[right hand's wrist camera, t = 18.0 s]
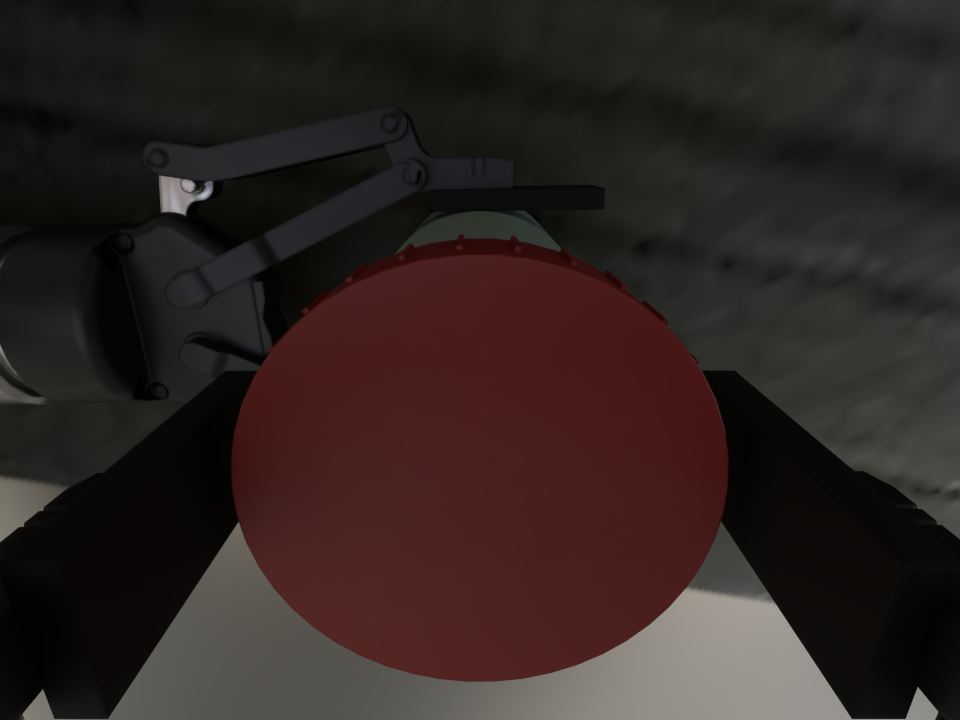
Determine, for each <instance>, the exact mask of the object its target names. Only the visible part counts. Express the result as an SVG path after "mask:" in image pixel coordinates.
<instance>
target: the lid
mask: <svg viewBox="0 0 960 720" xmlns="http://www.w3.org/2000/svg"><path fill="white" fill-rule="evenodd" d="M627 289H628V287H627V286H625V285H624V284H623V283H622V282H621V281H620V280H619V279H618V278H616V277H615V276H614V275H613V274H612V273H611V272H609V271H608V270H606V272H605V273H602V272H600V271H599V270H597V269H595V268H594V267H592V266H590V265H588V264H587V263H585V262H583V261H580V260H578V259H576V258H573V256H572V255H571V254H570V253H569V252H568V251H567V250H566V249H563V248H561V250H560V252H559V251H556V250H553V249H549V248H545V247H541V246H538V245H534V244H530V243H526V242H519V241H518V239H517V237H515V236H511V239H510V240H503V239H495V238H477V239H465V238H464V234H463V235H458V239H456V240H449V241H442V242H434V243H429V244H425V245H422V246H418V247H415V248H414V245H413V243H412V244H409V245H407V246H406V248H405V249H404V250H403V251H400V252H398V253H396V254H393V255H391V256H389V257H386V258H384V259H382V260H380V261H377V262H375V263H373V264H371V265H369V266H367V264H366V263H364V264H362V265H361V266H359V267H358V268H357V269H356V270H355V271H354V272H353V273H352V274H351V275H350V276H348V277H347V278H346V280H345V281H344V282H342V283H341V284H340V285H339V286H337V287H336V288H335V289H334V290H333V291H331V292H330V293H329V294H328V293H327V292H326V291H324V292H323V293H322V294H321V295H320V296H318V297H317V298H316V299H315V300H314V301H313V302H311V303H310V304H309V305H308V306H307V307H306V308H304V309H303V310H302V312H303V313H304V314H305V315H304V316H303V317H302V318H301V319H300V320H298V321H297V322H296V323H295V324H294V325H293V326H292V327H291V328H290V330H288V331H287V332H286V333H285V334H284V335H283V336H282V337H281V338H280V339H279V340H277V341H276V342H275V343H274V344H273V345H272V346H271V347H270V348H269V350H268V351H270V353H269V354H268V356H267V357H266V359H265V360H264V362H263V363H262V365H261V367H260V368H259V370H258V371H257V373H256V374H255V376H254V378H253V380H252V382H251V385H250V387H249V389H248V391H247V393H246V395H245V398H244V400H243V402H242V405H241V409H240V412H239V416H238V419H237V423H236V427H235V430H234V437H233V445H232V454H231V480H232V493H233V498H234V503H235V508H236V513H237V518H238V520H239V523H240V526H241V529H242V532H243V534H244V537H245V540H246V543H247V545H248V547H249V549H250V551H251V553H252V555H253V556H254V558H255V560H256V562H257V564H258V566H259V568H260V569H261V571H262V572H263V573H264V575H265V576H266V578H267V579H268V581H269V582H270V583H271V585H272V586H273V588H274V589H275V590H276V591H277V592H278V594H279V595H280V596H281V597H282V598H283V599H284V600H285V601H286V602H287V603H288V605H289V606H290V607H291V608H292V609H293V610H294V611H295V612H297V613H298V614H299V615H300V616H301V617H302V618H303V619H305V620H306V621H307V622H308V623H309V624H310V625H312V626H313V627H314V628H315V629H317V630H318V631H320V632H321V633H323V634H324V635H326V636H327V637H329V638H330V639H331V640H333V641H334V642H336V643H338V644H340V645H341V646H343V647H345V648H347V649H349V650H351V651H353V652H354V653H356V654H358V655H360V656H363V657H365V658H367V659H370V660H372V661H375V662H377V663H380V664H382V665H385V666H388V667H391V668H394V669H398V670H401V671H404V672H408V673H411V674H416V675H422V676H427V677H432V678H437V679H445V680H456V681H467V682H477V681H504V680H514V679H523V678H528V677H533V676H538V675H543V674H548V673H552V672H555V671H559V670H562V669H565V668H569V667H572V666H575V665H578V664H580V663H583V662H585V661H587V660H590V659H592V658H595V657H597V656H599V655H602V654H604V653H605V652H607V651H609V650H611V649H613V648H614V647H616V646H618V645H620V644H622V643H624V642H625V641H627V640H628V639H630V638H631V637H633V636H634V635H636V634H637V633H638V632H640V631H641V630H643V629H644V628H645V627H647V626H648V625H650V624H651V623H652V622H653V621H654V620H655V619H656V618H657V617H658V616H660V615H661V614H662V613H663V612H664V611H665V610H666V609H667V608H669V607H670V605H671V604H672V603H673V602H674V601H675V600H676V599H677V597H678V596H679V595H680V594H681V593H682V592H683V591H684V590H685V588H686V587H687V586H688V585H689V583H690V582H691V580H692V579H693V577H694V576H695V574H696V573H697V571H698V570H699V568H700V567H701V565H702V564H703V562H704V560H705V558H706V556H707V554H708V552H709V550H710V548H711V546H712V544H713V542H714V540H715V537H716V534H717V531H718V528H719V525H720V522H721V519H722V516H723V512H724V506H725V501H726V495H727V489H728V463H729V456H728V449H727V441H726V434H725V427H724V424H723V421H722V417H721V414H720V411H719V407H718V404H717V401H716V398H715V396H714V394H713V392H712V390H711V388H710V386H709V384H708V382H707V380H706V377H705V375H704V373H703V371H702V370H701V369H700V367H699V366H698V363H699V362H698V360H697V359H696V358H695V357H694V356H693V355H692V354H691V353H690V352H689V351H688V350H687V348H686V347H685V345H684V344H683V343H682V342H681V341H680V340H679V339H678V338H677V337H676V336H675V335H674V334H673V332H672V331H671V330H670V329H669V328H668V327H667V326H666V325H667V324H668V323H669V322H668V321H667V320H666V319H665V318H664V317H663V316H662V315H661V314H660V313H659V312H657V311H656V310H655V309H654V308H653V307H652V306H651V305H649V304H648V303H647V302H646V301H645V300H644V301H643V302H642V303H641V302H640V301H639V300H638V299H637V298H636V297H635V296H633V295H632V294H631V293H630V292H628V291H627Z"/></svg>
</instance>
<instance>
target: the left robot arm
mask: <svg viewBox="0 0 960 720" xmlns="http://www.w3.org/2000/svg"><path fill="white" fill-rule="evenodd" d="M382 147H385V150H386V152H387V155H388V157H389V160H390V162H391V164H392V166H391V167H389V168H388V169H386V170H384V171H382V172H380V173H378V174H376V175H374V176H372V177H370V178H368V179H367V180H365V181H363V182H361V183H359V184H357V185H355V186H353V187H351V188H349V189H347V190H346V191H344V192H342V193H340V194H338V195H336V196H334V197H332V198H330V199H328V200H326V201H325V202H323V203H321V204H319V205H317V206H315V207H313V208H311V209H309V210H307V211H305V212H304V213H302V214H300V215H298V216H296V217H294V218H292V219H290V220H288V221H286V222H284V223H283V224H281V225H279V226H277V227H275V228H273V229H271V230H269V231H267V232H265V233H263V234H261V235H259V236H257V237H255V238H253V239H251V240H249V241H247V242H245V243H243V242H241V241H240V240H238V239H236V238H235V237H233V236H232V235H230V234H229V233H227V232H225V231H224V230H222V229H221V228H219V227H218V226H216V225H215V224H213V223H211V222H210V221H208V220H207V219H205V218H204V217H202V216H201V215H199V214H197V210H198V207H199V204H200V203H201V202H202V201H204V200H206V199H213V198H216V197H218V196H219V195H220V194H221V192H222V190H223V180H234V179H244V178H250V177H256V176H260V175H264V174H269V173H273V172H278V171H282V170H286V169H291V168H295V167H299V166H304V165H308V164H312V163H317V162H321V161H326V160H330V159H334V158H339V157H343V156H347V155H352V154H356V153H360V152H365V151H369V150H374V149H378V148H382ZM142 157H143V161H144V164H145V165H146V167H147V168H148V170H150V171H151V172H152V173H154V174H156V175H159V188H160V205H161V213H159V214H156V215H154V216H153V217H151V218H150V219H148V220H147V221H145V222H143V223H139V224H79V225H48V226H44V227H40V228H39V227H34V226H30V225H16V226H0V404H46V403H53V402H62V403H113V402H147V401H156V400H175V401H179V402H182V403H185V404H186V403H188V402H189V401H190V400H191V399H192V398H193V397H195V396H196V395H197V394H198V393H199V392H201V391H202V390H203V389H204V388H205V387H207V386H208V385H209V384H210V383H211V382H213V381H214V380H215V379H216V378H217V377H219V376H220V375H221V374H222V373H223V372H225V371H258V370H259V368H260V367H261V365H262V363H263V362H264V360H265V359H266V357H267V356H268V354H269V353H270V351H268V350H269V348H270V347H271V346H272V345H273V344H274V343H275V342H276V341H277V340H279V339H280V338H281V337H282V336H283V335H284V334H285V333H286V332H287V331H288V328H287V322H286V320H285V318H284V315H283V313H282V311H281V308H280V299H281V291H282V286H281V280H280V273H279V272H274V269H273V267H272V266H273V265H275V264H277V263H279V262H281V261H283V260H285V259H287V258H289V257H291V256H293V255H295V254H296V253H298V252H300V251H302V250H304V249H306V248H308V247H310V246H312V245H314V244H316V243H318V242H320V241H322V240H324V239H326V238H328V237H330V236H332V235H334V234H336V233H338V232H339V231H341V230H343V229H345V228H347V227H349V226H351V225H353V224H355V223H357V222H359V221H361V220H363V219H365V218H367V217H369V216H371V215H373V214H375V213H377V212H379V211H381V210H382V209H384V208H386V207H388V206H390V205H392V204H394V203H396V202H398V201H400V200H402V199H404V198H406V197H408V196H410V195H412V194H414V193H416V192H428V191H430V206H431V212H467V211H528V210H588V209H604V196H605V188H602V187H598V186H594V185H555V186H513V162H511V161H509V160H506V159H504V158H501V157H463V158H437V157H434V156H431V155H430V154H428V153H427V152H426V151H425V150H424V149H423V147H422V145H421V143H420V140H419V137H418V135H417V132H416V130H415V127H414V122H413V120H412V118H411V117H410V116H409V115H408V114H407V113H406V112H404V111H403V110H401V109H399V108H397V107H395V106H393V105H386V106H382V107H377V108H373V109H369V110H365V111H360V112H356V113H352V114H347V115H343V116H339V117H335V118H330V119H326V120H322V121H318V122H313V123H309V124H305V125H301V126H296V127H292V128H288V129H284V130H279V131H275V132H271V133H267V134H262V135H258V136H254V137H250V138H245V139H241V140H237V141H233V142H228V143H224V144H220V145H215V146H209V145H202V144H195V143H184V142H164V141H152V142H150V143H148V144H146V146H145V147H144V149H143V154H142Z"/></svg>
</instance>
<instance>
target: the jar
mask: <svg viewBox="0 0 960 720" xmlns="http://www.w3.org/2000/svg"><path fill="white" fill-rule="evenodd" d="M463 234H464V238H465V239H477V238H495V239H503V240H510V239H511V236H515V237H517V239H518V241H519V242H526V243H530V244H534V245H538V246H541V247H545V248H549V249H553V250H556V251H559V252H560V250H561V248H560V247H559V246H558V245H557V244H556V243H555V241H554V240H553V239H552V238H551V237H550V236H549V235H548V234H547V232H546V231H545V230H544V229H543V228H542V227H541V226H540V224H539V223H538V222H537V221H536V220H535V219H534V218H533V217H531V216H530V215H529V214H528V213H526V212H525V211H467V212H434V213H432V214H431V215H430V216H429V217H428V218H426V219H425V220H424V221H423V223H422V224H421V225H420V226H419V227H418V228H417V229H416V230H415V232H414V233H413V234H412V235H411V236H410V237H409V238H408V239H407V241H406V242H405V243H404V244H403V245H402V246H401V247H400V248H399V250H398V251H397V252H396V253H398V252H400V251H403V250H404V249H405V248H406V246H407V245H409V244H412V243H413V245H414V248H415V247H418V246H422V245H425V244H429V243H434V242H442V241H449V240H456V239H458V235H463ZM396 253H395V254H396Z"/></svg>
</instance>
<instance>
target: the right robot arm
mask: <svg viewBox="0 0 960 720" xmlns="http://www.w3.org/2000/svg"><path fill="white" fill-rule="evenodd" d="M256 373H257V371H225V372H223V373H222V374H221V375H220V376H219V377H217V378H216V379H215V380H214V381H213V382H211V383H210V384H209V385H208V386H207V387H205V388H204V389H203V390H202V391H201V392H199V393H198V394H197V395H196V396H195V397H193V398H192V399H191V400H190V401H189V402H188V403H186V404H185V405H184V406H183V407H182V408H180V409H179V410H178V411H177V412H176V413H174V414H173V415H172V416H171V417H170V418H168V419H167V420H166V421H165V422H164V423H162V424H161V425H160V426H159V427H158V428H157V429H155V430H154V431H153V432H152V433H151V434H149V435H148V436H147V437H146V438H145V439H143V440H142V441H141V442H140V443H139V444H137V445H136V446H135V447H134V448H133V449H131V450H130V451H129V452H128V453H127V454H125V455H124V456H123V457H122V458H121V459H120V460H118V461H117V462H116V463H115V464H114V465H112V466H111V467H110V468H109V469H108V470H106V471H105V472H104V473H97V474H95V475H93V476H91V477H89V478H87V479H85V480H83V481H81V482H79V483H77V484H75V485H73V486H72V487H70V488H68V489H66V490H65V491H64V492H62V493H61V494H60V495H59V496H57V497H56V498H55V499H54V500H52V501H51V502H50V503H49V504H47V505H46V506H45V507H44V510H43V511H39V512H37V513H36V514H35V515H34V516H32V517H31V518H30V519H29V520H27V521H26V522H25V523H24V527H19V528H17V529H16V530H15V531H14V532H13V533H11V534H10V535H9V536H8V537H6V538H5V539H4V540H3V541H1V542H0V720H24V717H23V715H22V714H23V712H24V711H25V710H26V709H27V708H28V706H29V705H30V704H31V703H32V702H33V700H34V699H35V698H36V697H37V695H38V694H39V693H40V692H41V691H42V689H43V690H44V692H45V695H46V698H47V700H48V703H49V705H50V708H51V711H52V713H53V716H54V718H55V719H108V718H109V716H110V715H111V713H112V712H113V710H114V709H115V707H116V706H117V704H118V703H119V701H120V700H121V698H122V697H123V695H124V694H125V692H126V691H127V689H128V688H129V686H130V685H131V683H132V682H133V680H134V679H135V677H136V676H137V674H138V673H139V671H140V669H141V668H142V667H143V665H144V664H145V662H146V660H147V659H148V657H149V656H150V655H151V653H152V651H153V650H154V648H155V647H156V645H157V644H158V642H159V641H160V639H161V638H162V636H163V635H164V633H165V632H166V630H167V629H168V627H169V626H170V624H171V623H172V621H173V620H174V618H175V617H176V615H177V614H178V612H179V611H180V609H181V608H182V606H183V605H184V603H185V602H186V600H187V599H188V597H189V596H190V594H191V593H192V591H193V590H194V588H195V587H196V585H197V584H198V582H199V581H200V579H201V578H202V576H203V574H204V573H205V572H206V570H207V568H208V567H209V566H210V564H211V562H212V561H213V559H214V558H215V556H216V555H217V553H218V552H219V550H220V549H221V547H222V546H223V544H224V543H225V541H226V540H227V538H228V537H229V535H230V534H231V532H232V531H233V529H234V528H235V526H236V525H237V523H238V522H239V520H238V518H237V513H236V508H235V503H234V498H233V493H232V480H231V454H232V445H233V437H234V430H235V427H236V423H237V419H238V416H239V412H240V409H241V405H242V402H243V400H244V398H245V395H246V393H247V391H248V389H249V387H250V385H251V382H252V380H253V378H254V376H255V374H256ZM703 373H704V375H705V377H706V380H707V382H708V384H709V386H710V388H711V390H712V392H713V394H714V396H715V398H716V401H717V404H718V407H719V411H720V414H721V417H722V421H723V424H724V427H725V434H726V441H727V449H728V456H729V463H728V489H727V495H726V501H725V506H724V512H723V516H722V519H721V522H722V523H723V525H724V526H725V528H726V529H727V531H728V532H729V534H730V535H731V537H732V538H733V540H734V541H735V543H736V544H737V546H738V547H739V549H740V550H741V552H742V553H743V555H744V556H745V558H746V559H747V561H748V562H749V564H750V566H751V567H752V569H753V570H754V572H755V573H756V575H757V576H758V578H759V579H760V581H761V582H762V584H763V585H764V587H765V588H766V590H767V591H768V593H769V594H770V596H771V597H772V599H773V600H774V602H775V603H776V605H777V606H778V608H779V609H780V611H781V612H782V614H783V615H784V617H785V618H786V620H787V621H788V623H789V624H790V626H791V627H792V629H793V630H794V632H795V633H796V635H797V636H798V638H799V639H800V641H801V642H802V644H803V645H804V647H805V648H806V650H807V651H808V653H809V655H810V656H811V658H812V659H813V661H814V662H815V664H816V665H817V667H818V668H819V670H820V671H821V673H822V674H823V676H824V677H825V679H826V680H827V682H828V683H829V685H830V686H831V688H832V689H833V691H834V692H835V694H836V695H837V697H838V698H839V700H840V701H841V703H842V704H843V706H844V707H845V709H846V710H847V712H848V713H849V715H850V716H851V718H852V719H905V718H906V716H907V713H908V711H909V708H910V706H911V703H912V700H913V698H914V695H915V692H916V690H917V687H919V689H920V690H921V691H922V692H923V693H924V695H925V696H926V697H927V698H928V700H929V701H930V702H931V703H932V704H933V706H934V707H935V708H936V709H937V710H938V715H937V717H936V719H935V720H960V539H959V538H957V537H956V536H955V535H954V534H952V533H951V532H950V531H949V530H947V529H946V528H945V527H943V526H942V525H937V523H936V520H935V519H933V518H932V517H931V516H930V515H928V514H927V513H926V512H925V511H923V510H922V509H917V505H916V504H915V503H913V502H912V501H911V500H910V499H908V498H907V497H906V496H905V495H903V494H902V493H901V492H900V491H898V490H897V489H896V488H895V487H893V486H891V485H889V484H887V483H885V482H883V481H881V480H879V479H877V478H875V477H873V476H871V475H869V474H867V473H865V472H863V471H854V470H852V469H851V468H850V467H849V466H848V465H846V464H845V463H844V462H843V461H842V460H840V459H839V458H838V457H837V456H836V455H835V454H833V453H832V452H831V451H830V450H829V449H827V448H826V447H825V446H824V445H823V444H821V443H820V442H819V441H818V440H817V439H815V438H814V437H813V436H812V435H811V434H809V433H808V432H807V431H806V430H805V429H803V428H802V427H801V426H800V425H799V424H798V423H796V422H795V421H794V420H793V419H792V418H790V417H789V416H788V415H787V414H786V413H784V412H783V411H782V410H781V409H780V408H778V407H777V406H776V405H775V404H774V403H772V402H771V401H770V400H769V399H768V398H767V397H765V396H764V395H763V394H762V393H761V392H759V391H758V390H757V389H756V388H755V387H753V386H752V385H751V384H750V383H749V382H747V381H746V380H745V379H744V378H743V377H741V376H740V375H739V374H738V373H737V372H735V371H703Z"/></svg>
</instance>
